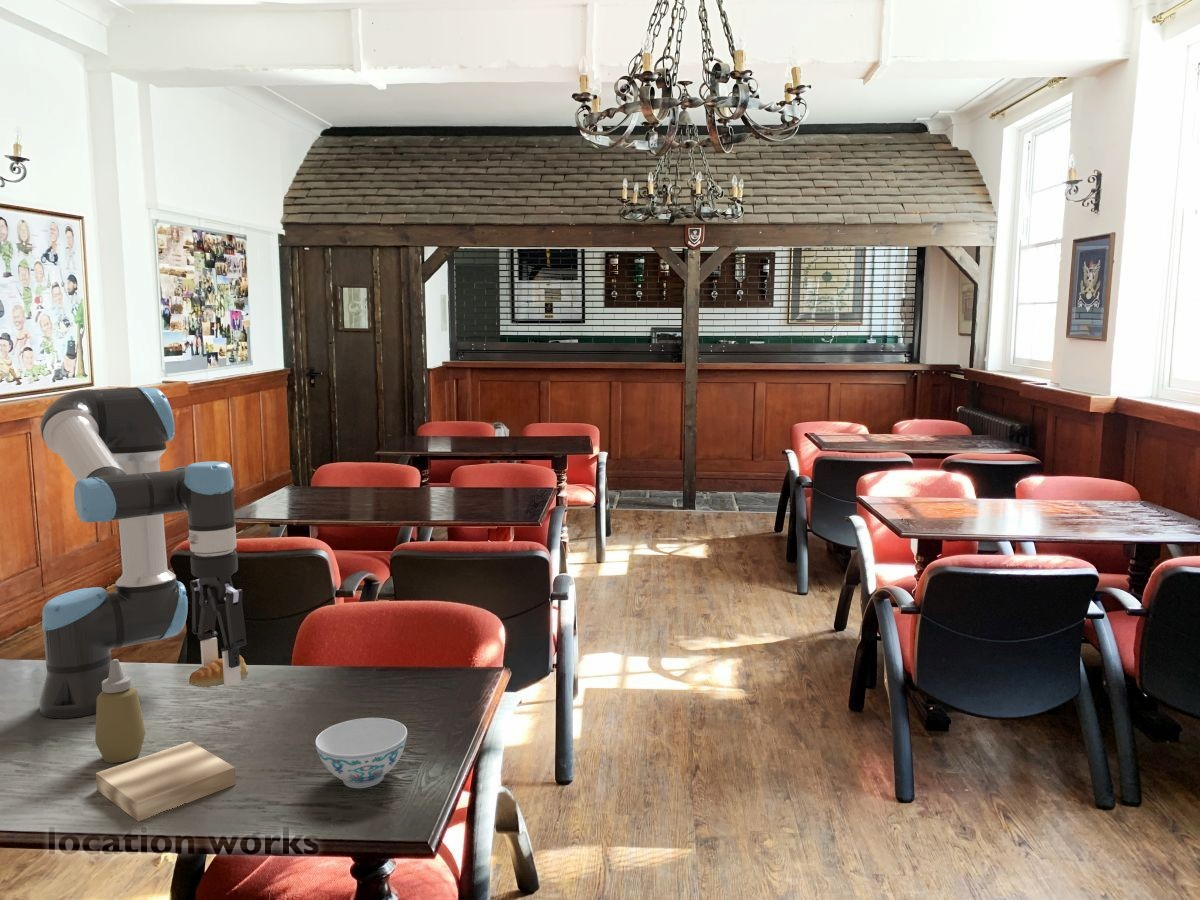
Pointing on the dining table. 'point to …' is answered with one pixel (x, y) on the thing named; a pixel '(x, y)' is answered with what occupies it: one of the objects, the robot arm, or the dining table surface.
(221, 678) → the pastry
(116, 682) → the squeeze bottle
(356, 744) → the chinaware
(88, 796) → the dining table surface
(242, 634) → the robot arm
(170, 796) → the serving board
